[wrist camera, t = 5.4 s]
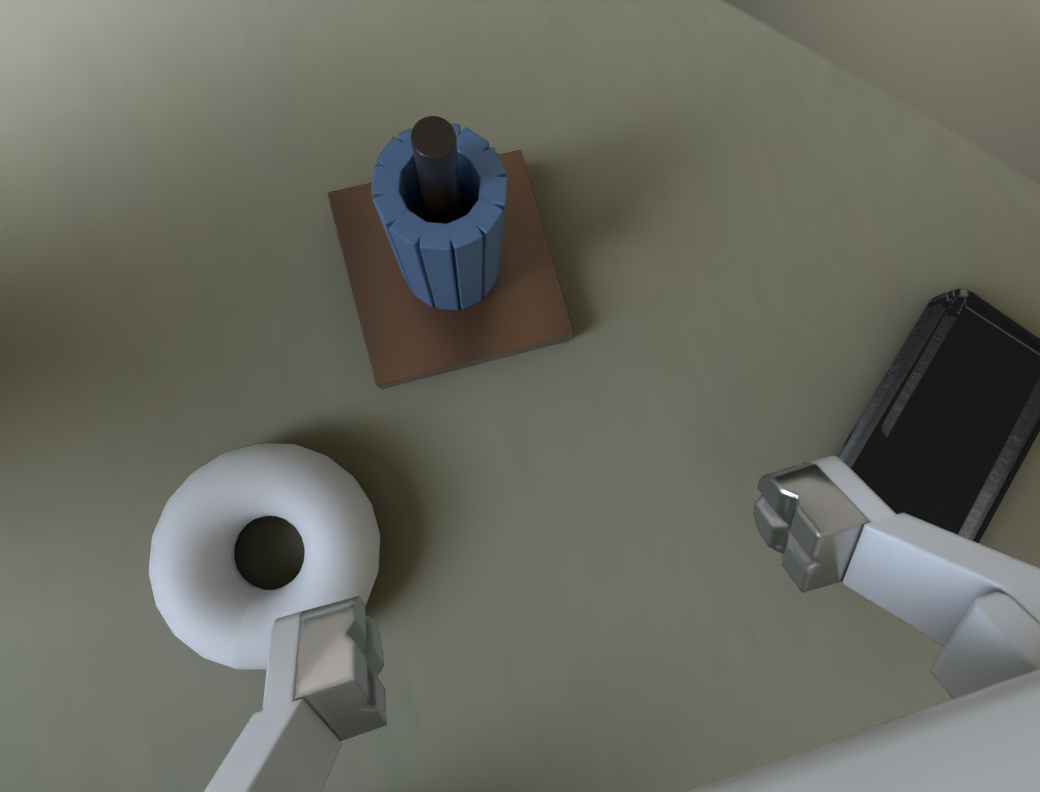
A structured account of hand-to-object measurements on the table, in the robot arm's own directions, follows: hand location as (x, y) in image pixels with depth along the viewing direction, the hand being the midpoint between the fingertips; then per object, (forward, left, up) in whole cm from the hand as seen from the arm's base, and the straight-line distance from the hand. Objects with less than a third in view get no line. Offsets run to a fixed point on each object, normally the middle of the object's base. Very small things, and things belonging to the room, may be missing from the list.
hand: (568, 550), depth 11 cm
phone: (+17, +15, -18) cm, 29 cm away
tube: (-9, +8, -16) cm, 20 cm away
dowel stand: (-9, +8, -18) cm, 21 cm away
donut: (-8, -8, -18) cm, 21 cm away
